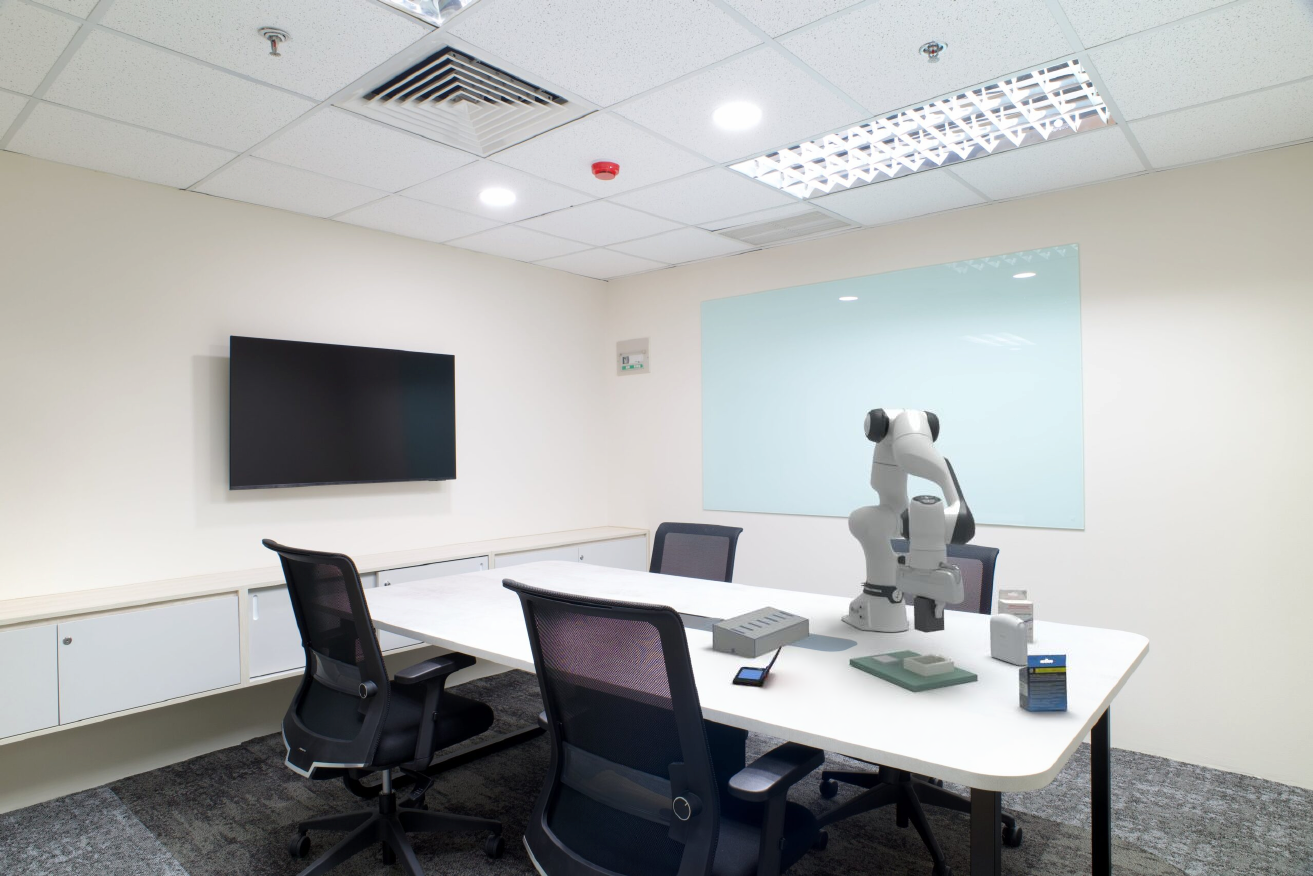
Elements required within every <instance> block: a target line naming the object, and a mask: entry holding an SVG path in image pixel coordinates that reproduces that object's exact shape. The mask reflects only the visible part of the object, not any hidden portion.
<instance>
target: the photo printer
mask: <svg viewBox="0 0 1313 876" xmlns="http://www.w3.org/2000/svg"><path fill="white" fill-rule="evenodd" d="M989 633H990V634H989V635H990V636H989V637H990V656H991V657H993V658H995V659H998V660H1001V661H1004V662H1007V663H1009V664H1012V665H1013V664H1014V665H1016V666H1027V655H1029V654H1028V651H1029V650H1028V643H1027V626H1026V623H1025V622H1024V621H1022V620H1021V619H1019V618H1017V617H1015V616H1013V615H1010V614H998V613H996V614H992V615H991V617H990V620H989Z"/></svg>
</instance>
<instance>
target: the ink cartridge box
mask: <svg viewBox="0 0 1313 876" xmlns="http://www.w3.org/2000/svg"><path fill="white" fill-rule="evenodd" d="M1012 593H1014V594H1017V595H1013V594H1012ZM1010 594H1011V595H1010ZM1027 597H1028V591H1027V589H1004V588H1003V589H999V590H998V601H997V614H1010V615H1013V616H1015V617H1017V618H1019V619H1021V620H1022V621H1024V622H1025V623H1026V626H1027V644H1029V643H1030V644H1031V643H1034V603H1033V602H1031V601H1029V600H1028V599H1027Z"/></svg>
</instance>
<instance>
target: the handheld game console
mask: <svg viewBox="0 0 1313 876" xmlns="http://www.w3.org/2000/svg"><path fill="white" fill-rule="evenodd" d="M782 649H783V647H781V646H780V648H779V649H777V650H776V653H775V654H774V655H773V657H772V659H771V660H770V662H769V664H768V665H766V667H753V666H741V667H740V668H739V670H738V671H737V673H736V675H735V676H734V677H733V679H732V684H733V685H736V686H745V687H746V686H747V687H756V688H757V687H758V688H763V686H764V683H765V680H766V679H767V677H768V675H769V674H770V670H771V669H772V667H773V666H774V664H775V663H776V661H777V658H778V656H779V654H780V652H781V650H782Z"/></svg>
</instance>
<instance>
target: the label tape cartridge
mask: <svg viewBox="0 0 1313 876" xmlns="http://www.w3.org/2000/svg"><path fill="white" fill-rule="evenodd" d="M1046 660H1048V661H1052V662H1041V661H1046ZM1067 684H1068V683H1067V653H1066V654H1037V655H1036V654H1028V655H1027V664H1026V666H1024V667H1022V668H1019V669H1018V695H1019V696H1018V697H1019V698H1018V699H1019V700H1018V701H1019V704H1018V705H1019V707H1021V708H1022V709H1024V710H1026V712H1043V711H1044V712H1045V711H1046V712H1047V711H1067V710H1068V688H1067Z"/></svg>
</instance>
